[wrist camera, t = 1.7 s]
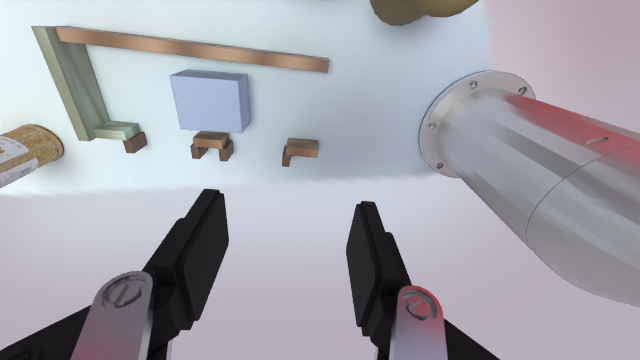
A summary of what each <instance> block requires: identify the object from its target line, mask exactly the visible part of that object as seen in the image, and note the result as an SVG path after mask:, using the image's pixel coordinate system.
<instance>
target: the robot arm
mask: <svg viewBox="0 0 640 360" xmlns="http://www.w3.org/2000/svg"><path fill="white" fill-rule="evenodd" d="M470 82H471V83H470ZM469 84H470V85H469ZM430 123H431V124H430ZM429 124H430V125H429ZM428 125H429V126H428ZM419 145H420V149H421V153H422V155H423V157H424V159H425V160H426V162H427V163H428V164H429V165H430V166H431V167H432V168H433V169H434V170H435V171H436V172H438V173H440V174H442V175H445V176H448V177H453V178H461V179H462V180H463V181H464V182H465V183H466V184H467V185H468V186H469V187H470V188H471V189H472V190H473V191H474V192H475V193H476V194H477V195H478V196H479V197H480V198H481V199H482V200H483V201H484V202H485V203H486V204H487V205H488V206H489V207H490V208H491V209H492V210H493V212H495V214H496V215H497V216H498V217H499V218H500V219H501V220H502V221H503V222H504V223H505V224H506V225H507V226H508V227H509V228H510V229H511V230H512V231H513V232H514V233H515V234H516V235H517V236H518V237H519V238H520V239H521V240H522V241H523V242H524V243H525V244H526V245H527V246H528V247H529V248H530V249H531V250H532V251H533V252H534V253H535V254H536V255H537V256H538V257H539V258H540V259H541V260H542V261H543V262H544V263H545V264H546V265H547V266H548V267H549V268H550V269H552V270H553V271H554V272H555V273H556V274H558V275H559V276H560V277H562V278H563V279H564V280H566V281H568V282H569V283H571V284H573V285H574V286H576V287H578V288H580V289H583V290H585V291H587V292H590V293H592V294H595V295H598V296H601V297H604V298H608V299H611V300H615V301H618V302H622V303H626V304H630V305H633V306H637V307H640V134H639V133H635V132H632V131H629V130H626V129H623V128H620V127H617V126H614V125H611V124H608V123H605V122H601V121H599V120H596V119H593V118H589V117H587V116H583V115H580V114H577V113H574V112H571V111H568V110H565V109H562V108H559V107H556V106H553V105H550V104H547V103H543V102H541V101H537V100H536V98H535V94H534V92H533V90H532V88H531V87H530V85H529V84H528V83H527V82H526V81H525V80H524V79H522V78H520V77H518V76H517V75H515V74H511V73H507V72H502V71H483V72H479V73H476V74H472V75H469V76H467V77H465V78H463V79H461V80H459V81H457V82H456V83H454V84H453V85H451V86H450V87H448V88H447V89H446V90H445V91H444V92H443V93H442V94H441V95H439V96H438V98H437V99H436V100H435V101H434V103H433V104H432V105H431V106H430V108H429V110H428V112H427V113H426V115H425V117H424V120H423V122H422V125H421V129H420V135H419ZM228 243H229V236H228V226H227V217H226V208H225V198H224V194H223V193H220V191H219V190H215V189H204V190H203V191H202V193H201V194H200V196H199V197H198V198H197V200H196V201H195V203H194V205H193V206H192V207H191V209H190V210H189V212H188V213H187V215H186V216H185V218H180V219H179V220H177V221H176V223H175V224H174V226H173V227H172V228H171V230H170V231H169V233H168V234H167V236H166V237H165V239H164V240H163V241H162V243H161V244H160V246H159V247H158V248H157V250H156V251H155V253H154V254H153V256H152V257H151V258H150V260H149V261H148V262H147V264H146V265H145V267H144V268H143V270H142V271H131V272H127V273H124V274H121V275H119V276H117V277H115V278H113V279H111V280H110V281H109V282H107V283H106V284H104V285H103V287H102V288H101V289H100V290H99V291H98V293H97V294H96V296H95V298H94V300H93V303H92V305H90V306H88V307H86V308H84V309H82V310H80V311H78V312H76V313H74V314H72V315H70V316H68V317H66V318H64V319H62V320H60V321H58V322H56V323H54V324H52V325H50V326H48V327H46V328H44V329H42V330H40V331H38V332H36V333H34V334H32V335H30V336H28V337H26V338H24V339H22V340H20V341H18V342H16V343H14V344H12V345H10V346H8V347H6V348H4V349H2V350H1V351H0V360H171V352H172V342H173V338H175V337H176V336H178V335H179V332H180V330H190V329H191V327H192V325H193V322H194V321H198V320H199V319H200V317H201V314H202V312H203V309H204V306H205V304H206V301H207V299H208V296H209V294H210V291H211V288H212V286H213V283H214V281H215V278H216V276H217V273H218V270H219V268H220V265H221V263H222V260H223V258H224V255H225V252H226V250H227V247H228ZM346 255H347V262H348V269H349V276H350V283H351V290H352V297H353V304H354V310H355V317H356V324H357V326H358V327H361V328H362V334H363V336H370V340H371V342H372V343H373V344H374V345H375V346H376V350H375V358H374V360H499V359H498V358H497V357H496V356H494V355H493V354H492V353H490V352H489V351H487V350H486V349H485V348H484V347H482V346H481V345H479V344H478V343H477V342H475V341H474V340H473V339H471V338H470V337H469V336H467V335H466V334H465V333H463V332H462V331H461V330H459V329H458V328H457V327H455V326H454V325H452V324H451V323H450V322H448V321H447V320H446V319H444V318H443V311H442V307H441V305H440V303H439V301H438V300H437V299H436V298H435V296H434V295H433V294H431V293H430V292H429V291H427V290H426V289H424V288H422V287H419V286H414V285H412V284H411V281H410V278H409V276H408V273H407V271H406V268H405V265H404V263H403V260H402V258H401V255H400V253H399V250H398V247H397V245H396V242H395V239H394V237H393V235H392V233H390V232H385V230H384V227H383V224H382V221H381V218H380V215H379V213H378V210H377V207H376V204H375V202H369V201H362V202H361V204H357V205H356V208H355V213H354V217H353V221H352V226H351V230H350V234H349V238H348V243H347V247H346Z"/></svg>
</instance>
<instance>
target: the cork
mask: <svg viewBox="0 0 640 360" xmlns="http://www.w3.org/2000/svg"><path fill="white" fill-rule="evenodd" d="M370 1H371V5H372V7H373V9H374V12H375V14H376V15H377V16H378V17H379V18H380V19H381V20H382V21H383V22H385V23H388V24H390V25H397V26H402V25H405V24H408V23H411V22H413V21H415V20H417V19H419V18H421V17H423V16H425V15H428V16H430V17H449V16H452V15H456V14H459V13H461V12H463V11H464V10H466V9H467V8H469V7H470V6H472V5H473V4H475V3H476V2H478V1H479V0H370Z"/></svg>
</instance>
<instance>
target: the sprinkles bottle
mask: <svg viewBox="0 0 640 360" xmlns="http://www.w3.org/2000/svg"><path fill="white" fill-rule="evenodd" d="M62 153H63V148H62V145H61V143H60V141H59V140H58V139H57V138H56V137H55V136H54V135H53V134H51V133H50V132H49V131H47V130H45V129H44V128H41V127H37V126H34V125H24V126H21V127H19V128H18V129H16V130H13V131H11V132H8V133H4V134H2V135H0V188H2V187H4V186H6V185H8V184H10V183H12V182H14V181H15V180H17V179H19V178H21V177H23V176H25V175H27V174H29V173H31V172H33V171H35V170H36V169H37V168H39V167H41V166H42V165H45V164H47V163H48V162H50V161H54V160H57V159H59V158H60V157H61V155H62Z"/></svg>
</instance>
